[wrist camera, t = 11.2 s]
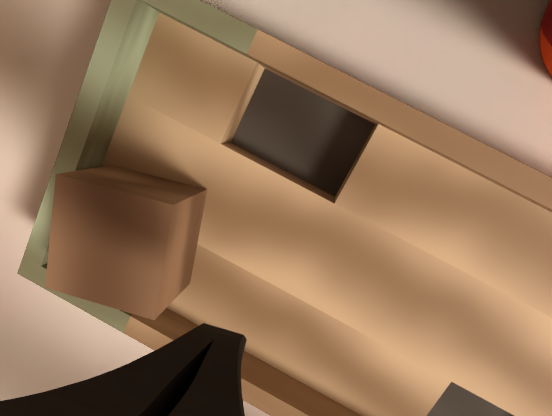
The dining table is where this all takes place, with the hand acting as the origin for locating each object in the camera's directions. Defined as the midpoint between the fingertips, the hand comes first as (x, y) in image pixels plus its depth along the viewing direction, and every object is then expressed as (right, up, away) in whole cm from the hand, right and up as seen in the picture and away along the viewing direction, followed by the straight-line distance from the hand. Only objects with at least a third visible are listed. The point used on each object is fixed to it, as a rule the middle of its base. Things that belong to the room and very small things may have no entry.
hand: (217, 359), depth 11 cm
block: (-5, +3, +9) cm, 10 cm away
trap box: (+8, +1, +9) cm, 12 cm away
